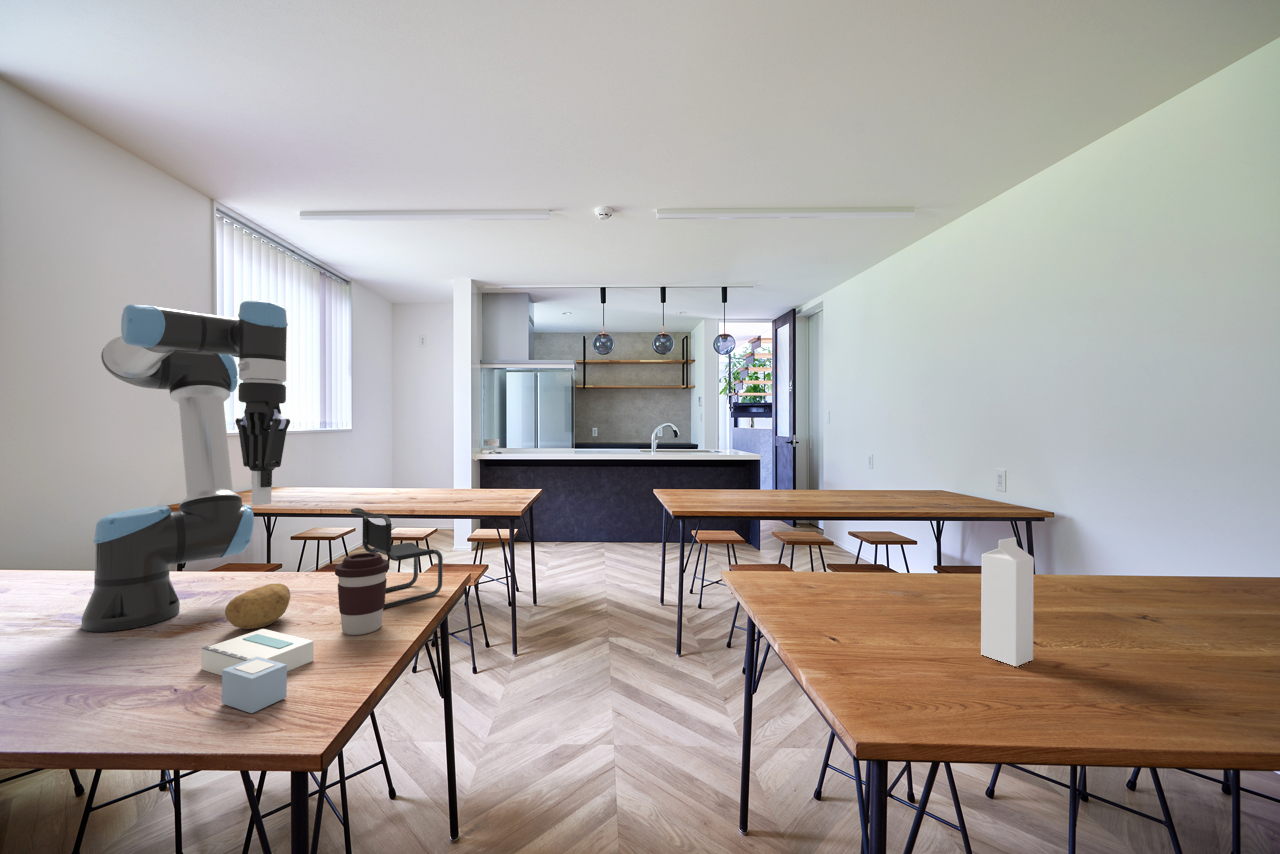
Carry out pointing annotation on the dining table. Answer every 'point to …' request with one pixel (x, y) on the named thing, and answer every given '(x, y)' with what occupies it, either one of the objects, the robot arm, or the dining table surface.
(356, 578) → the coffee cup
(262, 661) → the light blue box
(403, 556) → the chair
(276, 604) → the potato
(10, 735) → the dining table surface
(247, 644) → the white device
